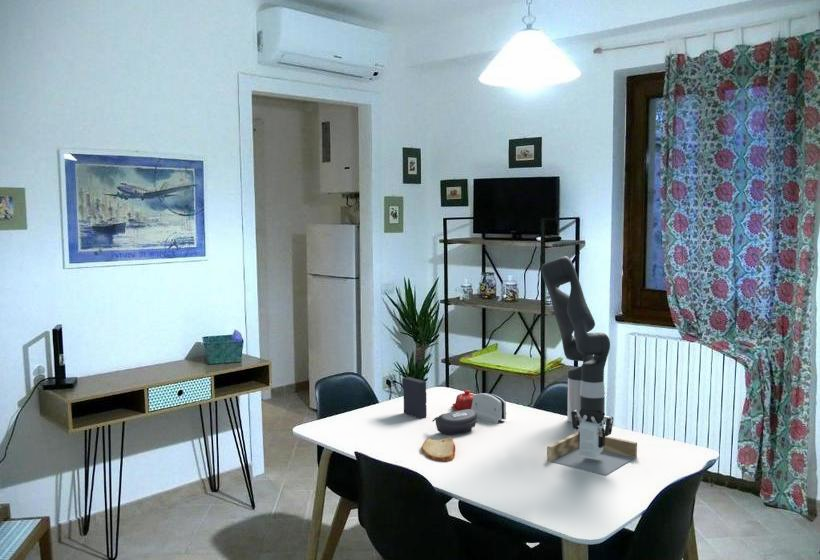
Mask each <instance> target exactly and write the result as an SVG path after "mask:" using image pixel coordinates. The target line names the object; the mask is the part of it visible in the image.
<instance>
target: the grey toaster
mask: <svg viewBox="0 0 820 560" xmlns="http://www.w3.org/2000/svg"><path fill="white" fill-rule="evenodd" d="M471 410H473V411H475V412H476V414H477V417H478V419H481V420H485V421H487V422H491V423H494V424H499V421H503V420H507V405H506V401H505V400H504V399H503V398H501V397H500V396H498V395H496V394H492V393H490V392H489V393H487V392H484V393H482V392H481V393H476V394H474V396H473V402H472V407H471Z"/></svg>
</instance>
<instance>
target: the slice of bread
mask: <svg viewBox="0 0 820 560" xmlns="http://www.w3.org/2000/svg"><path fill="white" fill-rule="evenodd" d="M421 453H422V454H423V455H424V456H425V457H426V458H427V459H429V460H431V461H432V460H433V461H435V462H440V463H448V462H452V461H454V459H455V457H456V444H455V442H454V440H453V437H450V436H449V437H445V438H441V439H432V438H427V439H425V440H424V441H423V443H422V445H421Z"/></svg>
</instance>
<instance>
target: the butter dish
mask: <svg viewBox="0 0 820 560" xmlns="http://www.w3.org/2000/svg"><path fill="white" fill-rule="evenodd" d="M474 395H475V394H474V393H471V391H470V390H469V389H465V390H464V392H463V393H462V392H461V393H459V394H457V396H456V399H455V403H452V406H453V409H454V412H455V411H460V410H465V409H471V407H472V402H473V396H474Z"/></svg>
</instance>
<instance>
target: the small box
mask: <svg viewBox="0 0 820 560" xmlns="http://www.w3.org/2000/svg"><path fill="white" fill-rule="evenodd" d="M602 422H603V425H604V422H605V420H604V419H603V421H602ZM579 425H580V453H579V454H580V455H584V456H589V457H595V458H596V457H597V456H598V455H599V454H600V453H601V452H602V451H603V447H602V448H599V447H598V442H599V430H598V425H599V426H601V423H600V424H594V423H593V422H588V421H586V422H585V421H582V422H581V423H580V424H579ZM604 426H605V425H604Z"/></svg>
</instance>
